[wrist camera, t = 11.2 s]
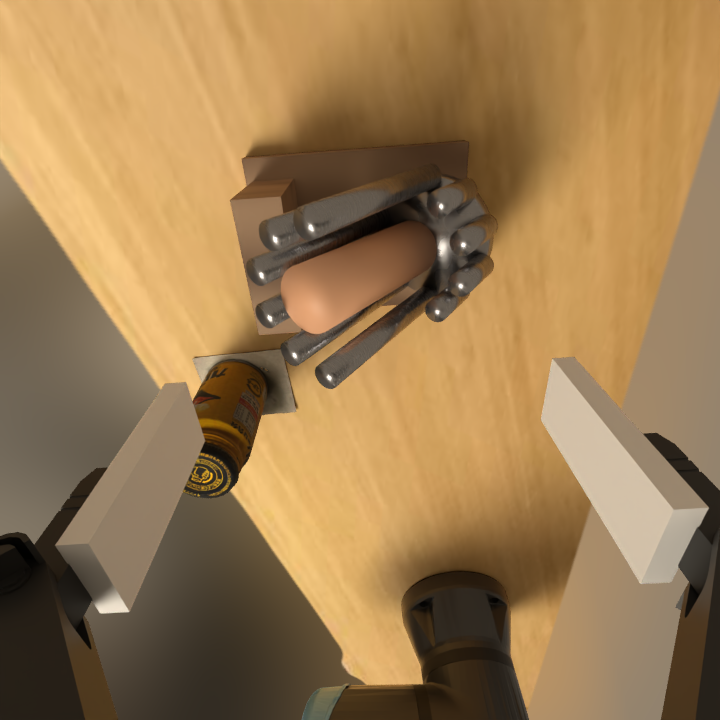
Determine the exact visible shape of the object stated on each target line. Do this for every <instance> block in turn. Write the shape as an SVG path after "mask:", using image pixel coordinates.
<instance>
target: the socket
mask: <svg viewBox="0 0 720 720" xmlns="http://www.w3.org/2000/svg"><path fill="white" fill-rule="evenodd" d="M409 220H413V221H418V222H420V223H422V224H424V225H425V226H426V227H427V228H428V229H429V230H430V231H431V232H432V234H433V236H434V238H435V241H436V246H437V253H436V258H435V261H434V263H433V264H432V266H431V267H430V268H429V269H428V270H427V271H425V272H423V273H422V274H420V275H418V276H417V277H415V278H414V279H412V280H410V281H409V282H407V283H405V284H404V285H402V286H400V287H399V288H397V289H395V290H394V291H392V292H390V293H389V294H387V295H385V296H384V297H382V298H381V299H379V300H377V301H376V302H374V303H372V304H371V305H369V306H367V307H366V308H364V309H362V310H361V311H359V312H357V313H356V314H354V315H352V316H351V317H349V318H348V319H346V320H344V321H343V322H341V323H339V324H338V325H336V326H334V327H333V328H331V329H329V330H328V331H326V332H324V333H321V334H313V333H309V332H307V331H305V330H302V331H301V332H299V333H298V334H296V335H294V336H293V337H291V338H290V339H288V340H287V341H285V342H283V343H282V345H281V353H282V355H283V357H284V359H285V360H286V361H287V362H288V363H289V364H291V365H293V366H298V365H299V364H301V363H302V362H304V361H305V360H306V359H308V358H309V357H311V356H312V355H313V354H315V353H316V352H318V351H319V350H320V349H322V348H323V347H325V346H326V345H327V344H329V343H330V342H331V341H333V340H334V339H336V338H337V337H338V336H340V335H341V334H343V333H344V332H345V331H347V330H348V329H350V328H351V327H352V326H354V325H355V324H357V323H358V322H359V321H361V320H362V319H363V318H365V317H366V316H368V315H369V314H370V313H372V312H373V311H375V310H376V309H377V308H379V307H380V306H382V305H383V304H384V303H386V302H387V301H389V300H390V299H391V298H393V297H394V296H396V295H397V294H398V293H400V292H401V291H402V290H404V289H405V288H406V287H407V286H408V287H409V288H411V289H413V290H415V291H416V292H415V293H413V294H412V295H411V296H409V297H408V298H407V299H405V300H404V301H403V302H401V303H400V304H399V305H397V306H396V307H395V308H393V309H392V310H391V311H389V312H388V313H387V314H385V315H384V316H383V317H381V318H380V319H379V320H377V321H376V322H375V323H373V324H372V325H371V326H369V327H368V328H367V329H366V330H364V331H363V332H362V333H360V334H359V335H358V336H356V337H355V338H354V339H352V340H351V341H350V342H348V343H347V344H346V345H344V346H343V347H342V348H340V349H339V350H338V351H336V352H335V353H334V354H332V355H331V356H330V357H328V358H327V359H326V360H324V361H323V362H322V363H320V364H319V365H318V366H317V367H316V369H315V375H316V378H317V379H318V381H319V382H320V383H321V384H322V385H323V386H324V387H326V388H328V389H333V388H335V387H336V386H337V385H339V384H340V383H341V382H342V381H343V380H345V379H346V378H347V377H348V376H349V375H350V374H352V373H353V372H354V371H355V370H356V369H358V368H359V367H360V366H361V365H362V364H363V363H365V362H366V361H367V360H368V359H369V358H370V357H372V356H373V355H374V354H375V353H376V352H378V351H379V350H380V349H381V348H382V347H383V346H385V345H386V344H387V343H388V342H389V341H391V340H392V339H393V338H394V337H395V336H396V335H398V334H399V333H400V332H401V331H402V330H403V329H405V328H406V327H407V326H408V325H409V324H411V323H412V322H413V321H414V320H415V319H416V318H418V317H419V316H420V315H421V314H422V313H423V312H426V315H427V316H428V318H429V319H431V320H432V321H434V322H441V321H443V320H444V319H445V318H447V317H448V316H449V315H450V314H451V313H452V312H453V311H454V310H455V309H456V308H457V307H458V306H459V305H460V304H461V303H462V302H464V301H465V300H466V299H467V298H468V296H469V294H470V292H471V291H472V290H473V289H474V288H475V287H476V286H477V285H479V284H480V283H481V282H482V281H483V280H484V279H485V278H486V277H487V276H488V275H489V274H490V273H491V272H492V271H493V268H494V263H493V260H492V259H491V257H490V254H491V251H492V246H493V236H494V235H495V233H496V232H497V229H498V223H497V221H496V219H495V218H494V217H493V216H492V215H490V214H489V211H488V208H487V206H486V205H485V203H484V201H483V200H482V198H481V197H480V195H479V194H478V193H477V186H476V184H475V182H474V181H473V180H471V179H469V178H462V179H459V178H456V177H454V176H451V175H447V174H441V171H440V169H439V167H438V166H436V165H435V164H431V163H430V164H426V165H423V166H420V167H417V168H414V169H411V170H408V171H405V172H402V173H399V174H396V175H393V176H390V177H387V178H384V179H381V180H378V181H375V182H372V183H369V184H366V185H363V186H360V187H357V188H354V189H351V190H348V191H345V192H342V193H339V194H335V195H332V196H329V197H326V198H323V199H320V200H317V201H314V202H311V203H308V204H305V205H302V206H300V207H298V208H297V209H296V210H293V211H290V212H287V213H284V214H281V215H278V216H275V217H272V218H269V219H266V220H263V221H262V222H261V223H260V225H259V236H260V239H261V241H262V243H263V245H264V246H265V247H266V248H267V249H268V250H269V251H267V252H265V253H262V254H260V255H257V256H255V257H252V258H250V259H249V260H248V261H247V263H246V270H247V273H248V276H249V278H250V279H251V280H252V282H253V283H255V284H256V285H258V286H264V285H266V284H268V283H270V282H272V281H274V280H276V279H278V278H280V277H282V276H283V275H284V273H285V272H286V271H287V270H288V269H289V268H290V267H292V266H294V265H297V264H299V263H302V262H304V261H307V260H309V259H312V258H314V257H317V256H319V255H322V254H324V253H327V252H329V251H332V250H334V249H337V248H339V247H342V246H344V245H347V244H349V243H352V242H354V241H357V240H359V239H361V238H363V237H365V236H367V235H369V234H371V233H373V232H375V231H378V230H380V229H382V230H384V229H387V228H389V227H392V226H394V225H397V224H399V223H402V222H404V221H409ZM255 312H256V316H257V318H258V320H259V322H260V323H261V324H262V325H263V326H264V327H266V328H273V327H275V326H277V325H278V324H280V323H282V322H283V321H285V320H287V319H288V318H290V316H289V314H288V313H287V311H286V309H285V306H284V304H283V301H282V297H281V292H280V293H278V294H276V295H274V296H272V297H270V298H268V299H267V300H265V301H263V302H261V303H259V304H257V306H256V309H255Z"/></svg>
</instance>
